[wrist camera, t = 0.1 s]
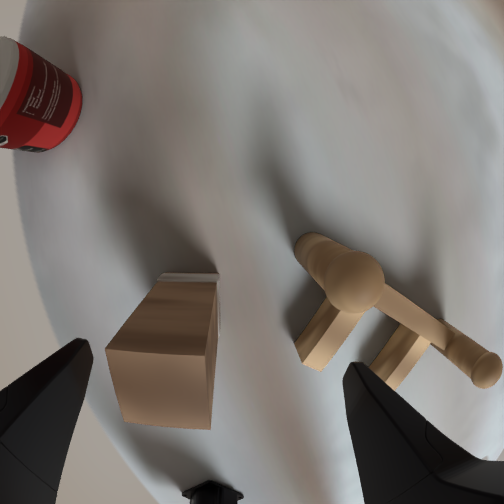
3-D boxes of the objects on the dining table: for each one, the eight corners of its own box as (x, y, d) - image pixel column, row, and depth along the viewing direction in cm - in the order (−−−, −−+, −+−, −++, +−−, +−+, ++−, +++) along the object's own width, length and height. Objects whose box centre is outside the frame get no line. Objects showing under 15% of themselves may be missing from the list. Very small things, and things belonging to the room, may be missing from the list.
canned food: (13, 122, 20) (-60, 105, 9) (64, 62, 19) (0, 19, 9) (42, 170, 21) (-41, 167, 11) (99, 106, 21) (27, 65, 10)
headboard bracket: (402, 391, 28) (448, 449, 18) (245, 319, 25) (253, 398, 14) (451, 323, 27) (512, 366, 16) (306, 222, 24) (360, 245, 13)
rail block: (220, 324, 25) (212, 430, 12) (167, 322, 25) (122, 422, 12) (219, 271, 24) (206, 353, 12) (164, 271, 24) (102, 346, 11)
